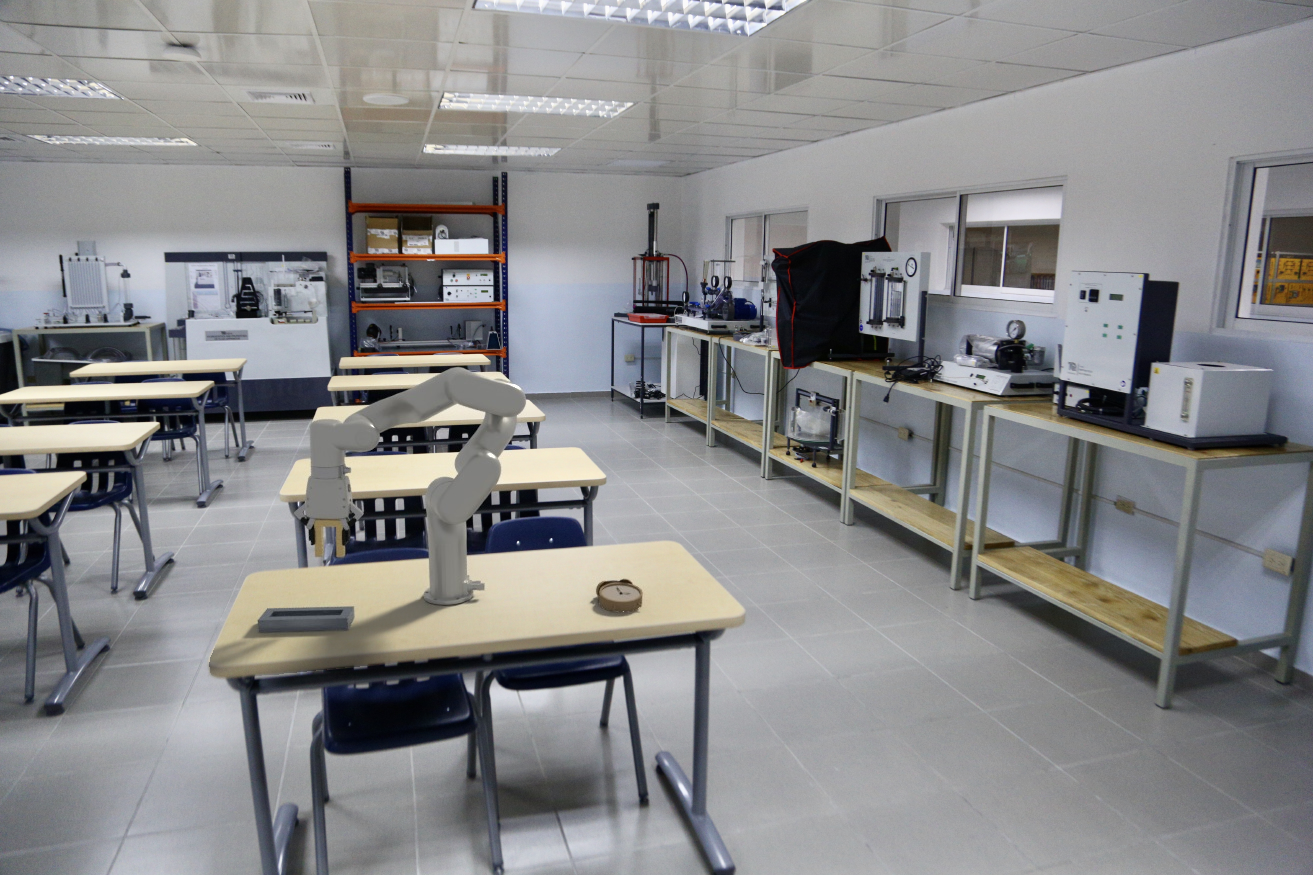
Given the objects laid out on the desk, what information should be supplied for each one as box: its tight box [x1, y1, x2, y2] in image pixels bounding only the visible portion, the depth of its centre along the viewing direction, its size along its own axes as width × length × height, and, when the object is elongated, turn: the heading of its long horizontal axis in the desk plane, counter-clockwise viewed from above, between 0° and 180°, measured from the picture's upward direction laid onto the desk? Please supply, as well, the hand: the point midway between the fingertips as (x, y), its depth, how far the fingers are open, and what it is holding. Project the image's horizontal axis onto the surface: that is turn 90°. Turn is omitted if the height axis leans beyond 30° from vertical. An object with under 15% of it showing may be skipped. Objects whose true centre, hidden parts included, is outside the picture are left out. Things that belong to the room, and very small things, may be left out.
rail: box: [257, 605, 355, 633], centre depth 201 cm, size 20×7×3 cm, turn 97°
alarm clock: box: [595, 578, 644, 613], centre depth 220 cm, size 11×5×15 cm
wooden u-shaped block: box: [314, 519, 346, 558], centre depth 204 cm, size 7×2×9 cm, turn 96°
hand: (329, 543), depth 204 cm, fingers closed on wooden u-shaped block, 6 cm apart
